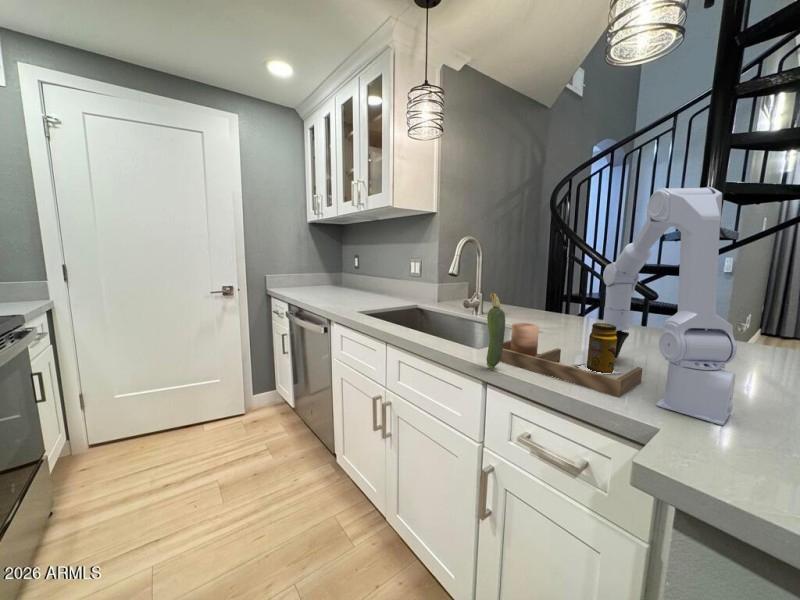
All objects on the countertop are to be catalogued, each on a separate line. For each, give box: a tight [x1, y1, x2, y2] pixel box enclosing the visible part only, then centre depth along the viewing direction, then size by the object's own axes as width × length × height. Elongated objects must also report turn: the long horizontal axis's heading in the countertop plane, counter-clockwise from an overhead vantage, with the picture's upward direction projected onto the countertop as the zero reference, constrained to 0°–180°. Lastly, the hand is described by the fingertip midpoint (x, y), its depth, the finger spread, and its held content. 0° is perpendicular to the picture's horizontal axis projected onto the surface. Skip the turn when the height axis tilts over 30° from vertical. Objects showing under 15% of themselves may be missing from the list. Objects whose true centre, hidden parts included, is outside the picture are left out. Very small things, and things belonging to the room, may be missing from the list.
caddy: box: [499, 322, 643, 398], centre depth 84 cm, size 33×14×10 cm, turn 38°
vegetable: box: [486, 292, 506, 370], centre depth 83 cm, size 4×4×20 cm
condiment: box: [573, 322, 623, 375], centre depth 84 cm, size 7×8×12 cm
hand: (612, 357), depth 91 cm, fingers closed
